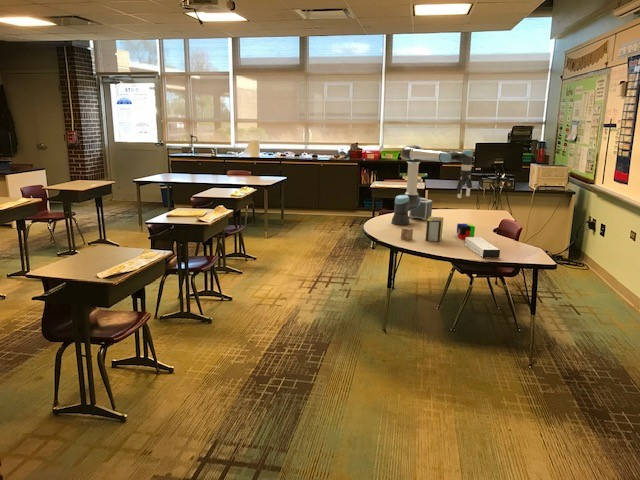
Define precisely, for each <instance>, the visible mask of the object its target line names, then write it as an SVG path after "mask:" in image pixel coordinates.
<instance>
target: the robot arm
mask: <svg viewBox="0 0 640 480" xmlns="http://www.w3.org/2000/svg"><path fill="white" fill-rule="evenodd" d="M400 154H401V157H402V158H403V159H404V160H406V163H407V177H406V178H407V179H406V180H407V181H406V191H405V193H404V194H399V195H396V196H395V197H394V198H395V199H394V211H393V212H394V213H393V216H392V219H391V224H392V225H396V226H398V225H399V226H408V225H410V222H411V221H410V219H409V217H408V216H409V211H410V210H411V209H415V208H417V207H418V206H419V205H420V198H421V197H420V196H419V193H418V179H419V178H418V177H419V164H420V163H421V161H423V160H424V161H433V162H442V163H452V162H453V163H454V162H458V163H459V162H460V163H461V167H460V168H461V169H460V175H461V176H460V177H459V179H458V182H457V185H456V190H457V198H458V199H462V191H463V189H462V188H463V187H464V185H465V184H466V190H465V191H466V192H465V196H466V197H470V195H471V189H472V188H473V184H472V183H473V182H472V175H471V174H472V167H473V165H472V164H473V157H474V152H473V150H472V149H463V150H462V151H455V150H452V151H449V152H448V151H436V150H427V149H425V150H424V149H423V148H422V146H420V145H416V144H415V145H414V144H413V145H406V146H403V148H402V149H401V152H400Z"/></svg>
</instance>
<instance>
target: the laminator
mask: <svg viewBox="0 0 640 480" xmlns="http://www.w3.org/2000/svg"><path fill="white" fill-rule="evenodd" d="M464 246H465V247H467V248H468V249H469V250H471V251H472V250H473V251H472V252H473V253H475V252H476V253H477V254H476V253H475V254H476V255H478V254H479V255H480V256H482V257H499V258H500V254H501V249H500V248H498V247H496V245H495V246H494V245H493V244H492V243H490V242H488V241H487V240H485V239H484V238H483V237H482V236H474V237H466V238H465V239H464ZM479 255H478V256H479ZM480 256H479V257H480ZM482 257H481V258H482Z"/></svg>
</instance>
